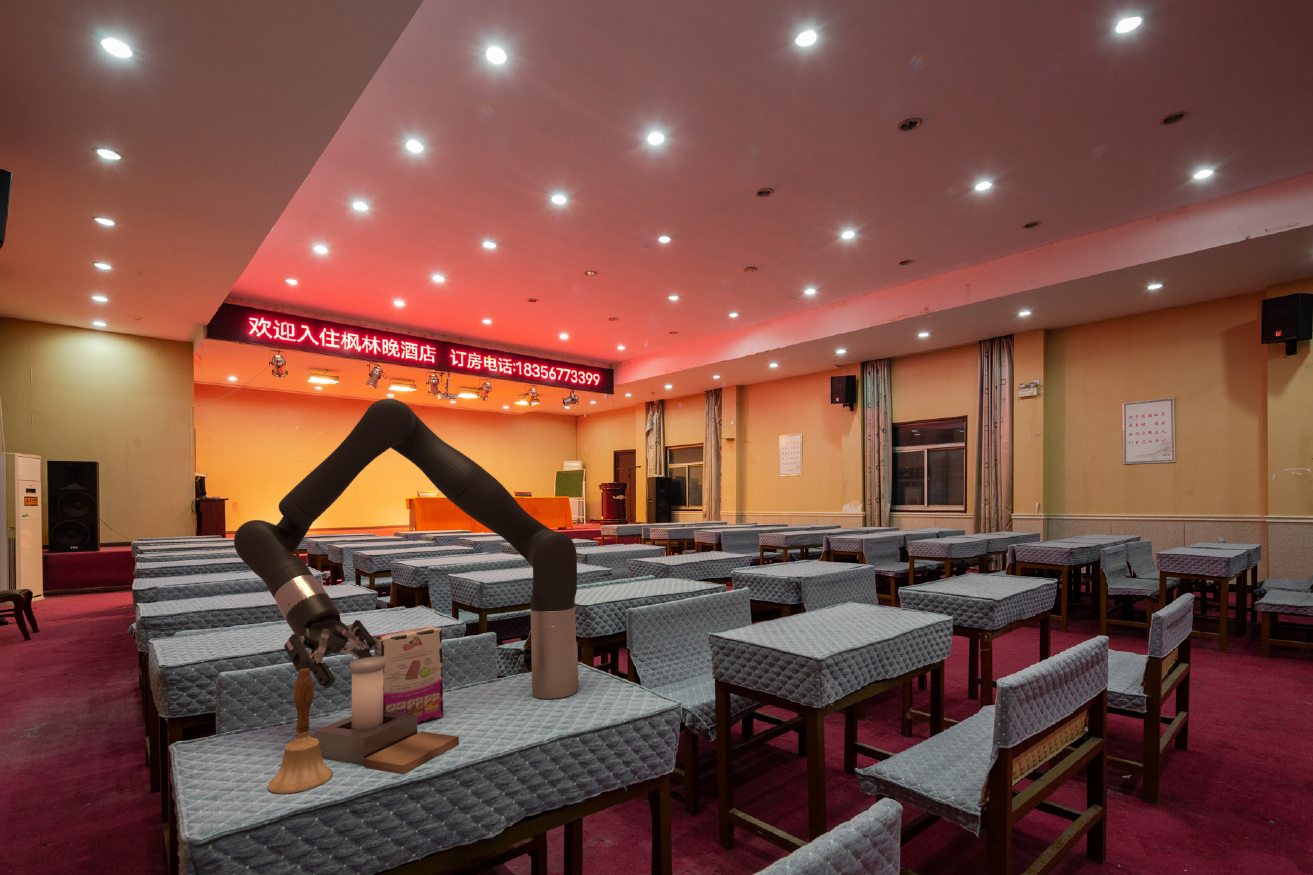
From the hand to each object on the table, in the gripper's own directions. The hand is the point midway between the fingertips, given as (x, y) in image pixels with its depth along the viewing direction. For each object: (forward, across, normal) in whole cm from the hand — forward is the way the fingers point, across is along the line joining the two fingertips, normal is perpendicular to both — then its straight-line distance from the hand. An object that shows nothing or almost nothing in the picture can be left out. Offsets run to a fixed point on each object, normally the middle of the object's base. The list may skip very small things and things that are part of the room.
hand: (352, 677), depth 107 cm
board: (+17, 0, -2) cm, 17 cm away
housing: (+10, 0, +5) cm, 11 cm away
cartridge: (+10, 0, +5) cm, 12 cm away
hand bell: (+11, -13, +5) cm, 18 cm away
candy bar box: (+9, +12, +7) cm, 16 cm away
